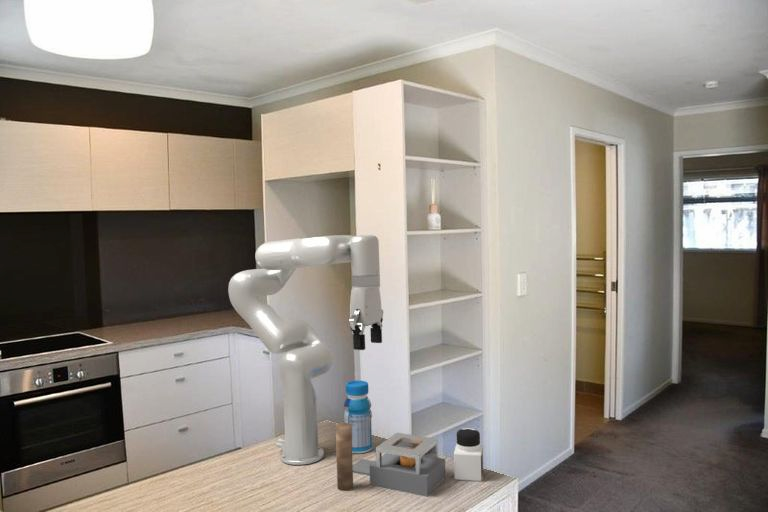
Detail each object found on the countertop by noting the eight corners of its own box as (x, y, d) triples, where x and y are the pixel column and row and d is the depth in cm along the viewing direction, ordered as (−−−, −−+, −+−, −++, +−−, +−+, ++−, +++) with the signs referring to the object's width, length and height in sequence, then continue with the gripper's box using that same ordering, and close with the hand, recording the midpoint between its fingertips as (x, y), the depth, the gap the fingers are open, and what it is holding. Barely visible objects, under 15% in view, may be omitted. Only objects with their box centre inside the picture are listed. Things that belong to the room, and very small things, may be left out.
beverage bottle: (359, 456, 169) (357, 388, 168) (338, 450, 175) (336, 383, 174) (378, 448, 176) (376, 382, 175) (357, 442, 181) (356, 378, 180)
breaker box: (370, 484, 151) (369, 465, 150) (391, 467, 161) (390, 449, 161) (427, 496, 143) (426, 476, 143) (445, 477, 154) (445, 458, 153)
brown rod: (334, 489, 148) (332, 426, 148) (342, 482, 152) (341, 422, 151) (348, 492, 147) (346, 429, 146) (356, 485, 150) (354, 424, 149)
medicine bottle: (482, 481, 151) (481, 435, 150) (454, 480, 152) (453, 434, 152) (483, 470, 158) (482, 426, 157) (456, 468, 159) (455, 425, 159)
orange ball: (395, 473, 151) (395, 452, 151) (403, 466, 155) (403, 446, 155) (412, 476, 149) (412, 455, 148) (420, 469, 153) (419, 449, 153)
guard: (376, 466, 149) (375, 447, 149) (397, 450, 160) (396, 432, 160) (419, 475, 144) (419, 454, 144) (438, 457, 154) (437, 438, 154)
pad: (346, 470, 160) (346, 469, 160) (361, 460, 167) (361, 458, 167) (372, 475, 156) (372, 474, 156) (386, 464, 163) (386, 463, 163)
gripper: (368, 279, 165) (370, 339, 165) (337, 284, 149) (339, 351, 150) (392, 279, 161) (394, 340, 162) (363, 285, 146) (365, 353, 146)
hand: (368, 346), depth 156 cm, fingers open, 9 cm apart
